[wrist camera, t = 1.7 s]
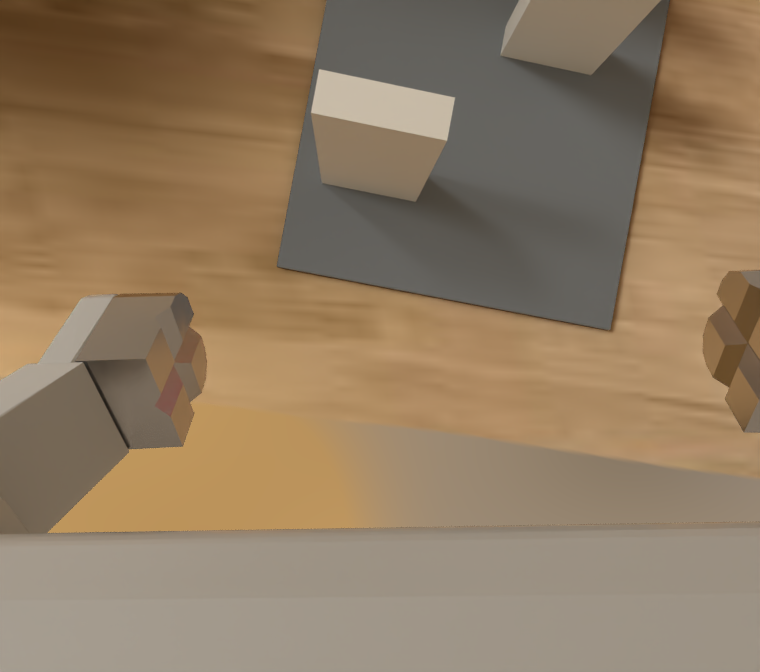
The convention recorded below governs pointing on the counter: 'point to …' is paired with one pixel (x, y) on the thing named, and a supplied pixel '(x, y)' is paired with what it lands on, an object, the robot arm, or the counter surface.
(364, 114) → the loose domino
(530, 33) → the domino
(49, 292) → the counter surface
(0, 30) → the counter surface
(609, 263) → the domino mat
